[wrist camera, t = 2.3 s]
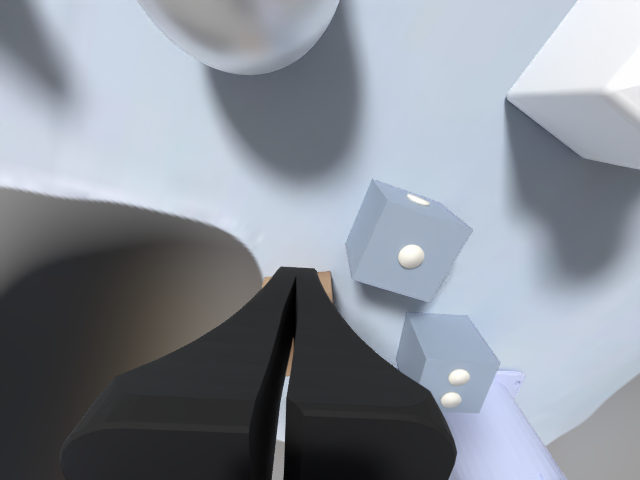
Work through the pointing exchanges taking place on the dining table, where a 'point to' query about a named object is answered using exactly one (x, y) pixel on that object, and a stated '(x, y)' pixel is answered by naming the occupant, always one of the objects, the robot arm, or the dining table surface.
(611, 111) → the medicine bottle
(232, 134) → the dining table surface
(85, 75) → the dining table surface
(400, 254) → the dotted block
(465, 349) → the dotted block
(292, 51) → the silver round ornament
